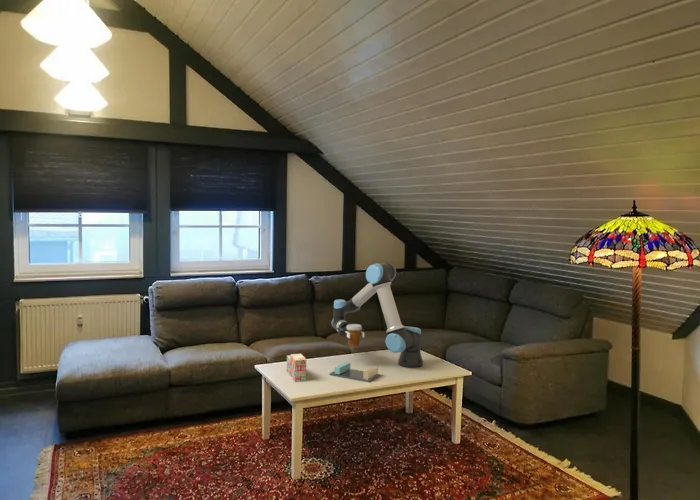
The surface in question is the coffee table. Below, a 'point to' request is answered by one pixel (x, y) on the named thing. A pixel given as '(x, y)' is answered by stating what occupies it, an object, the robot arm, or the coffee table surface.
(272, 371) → the coffee table surface
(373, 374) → the base
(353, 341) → the disposable coffee cup
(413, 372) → the coffee table surface
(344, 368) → the bar
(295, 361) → the stack of blocks
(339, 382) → the coffee table surface
